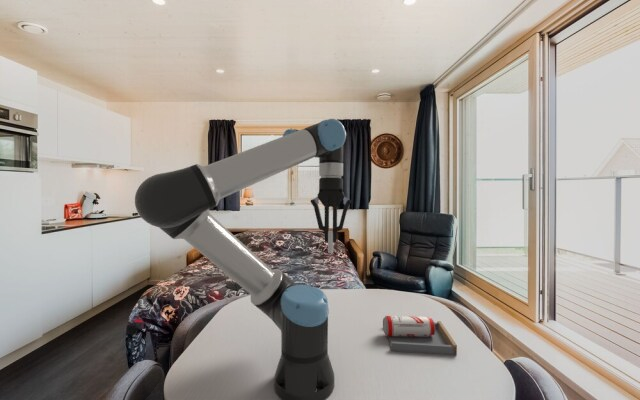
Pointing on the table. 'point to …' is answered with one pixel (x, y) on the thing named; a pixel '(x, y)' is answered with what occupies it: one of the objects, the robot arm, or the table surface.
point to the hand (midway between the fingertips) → (330, 252)
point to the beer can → (408, 326)
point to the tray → (426, 342)
